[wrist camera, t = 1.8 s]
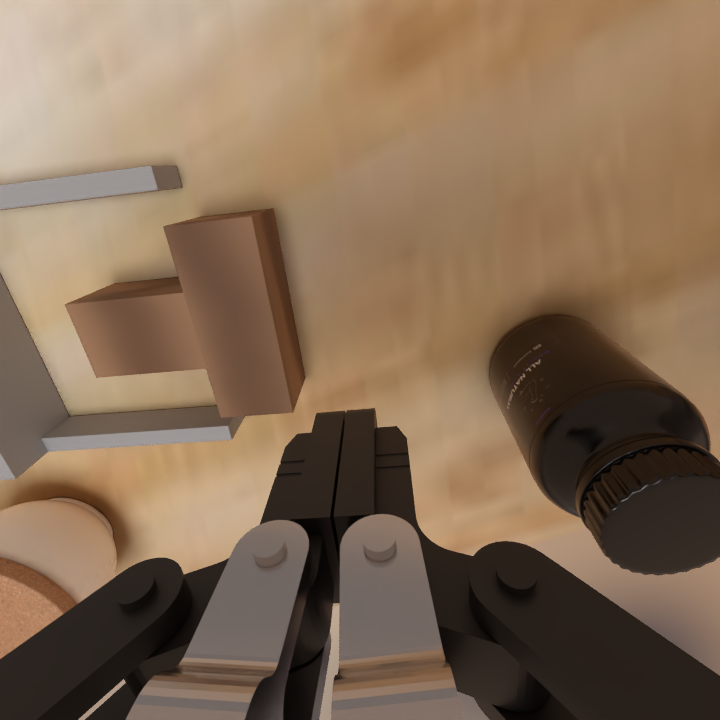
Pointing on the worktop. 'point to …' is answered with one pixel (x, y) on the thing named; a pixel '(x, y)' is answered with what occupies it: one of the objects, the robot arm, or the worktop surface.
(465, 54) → the worktop surface
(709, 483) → the supplement bottle
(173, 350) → the t block
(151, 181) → the grey fence
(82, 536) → the lidded jar
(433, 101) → the worktop surface
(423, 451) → the worktop surface
